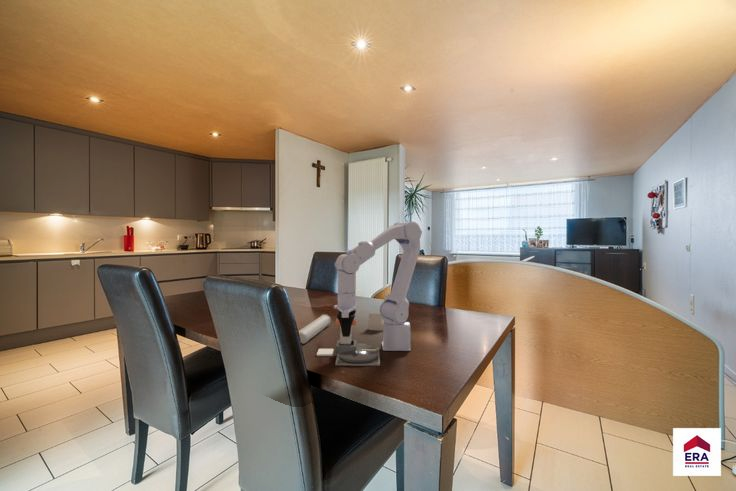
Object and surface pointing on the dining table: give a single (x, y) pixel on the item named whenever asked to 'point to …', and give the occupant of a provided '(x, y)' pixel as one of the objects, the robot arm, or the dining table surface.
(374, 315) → the grey square block
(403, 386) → the dining table surface
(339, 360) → the chuck base
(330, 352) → the felt pad
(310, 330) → the tube
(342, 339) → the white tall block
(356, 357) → the grey base plate
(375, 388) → the dining table surface
